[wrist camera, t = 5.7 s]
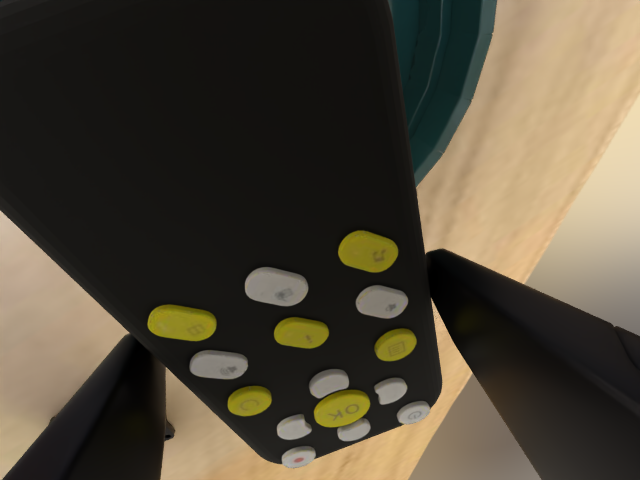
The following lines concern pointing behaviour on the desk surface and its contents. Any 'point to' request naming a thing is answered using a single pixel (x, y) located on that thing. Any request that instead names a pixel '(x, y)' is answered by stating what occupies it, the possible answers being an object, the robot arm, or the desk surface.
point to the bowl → (439, 68)
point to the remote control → (232, 201)
